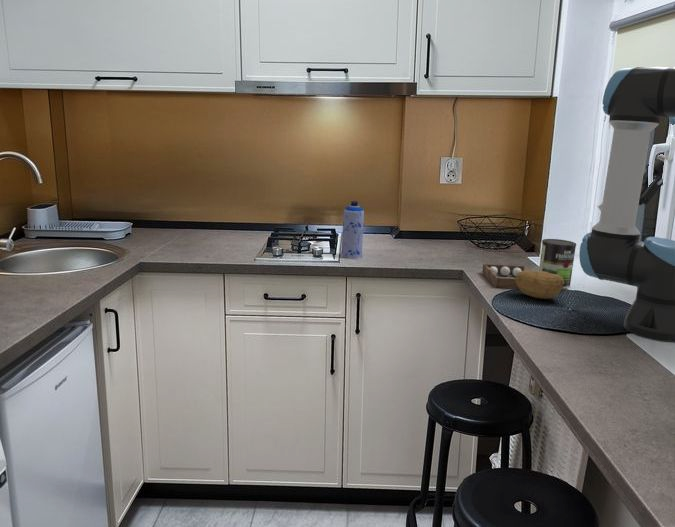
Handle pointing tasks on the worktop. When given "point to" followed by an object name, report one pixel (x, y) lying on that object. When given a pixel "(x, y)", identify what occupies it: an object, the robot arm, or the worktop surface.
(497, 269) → the pebble
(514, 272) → the white ball
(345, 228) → the aerosol can
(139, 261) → the worktop surface
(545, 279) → the potato
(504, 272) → the pebble
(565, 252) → the coffee can
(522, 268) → the tray frame
